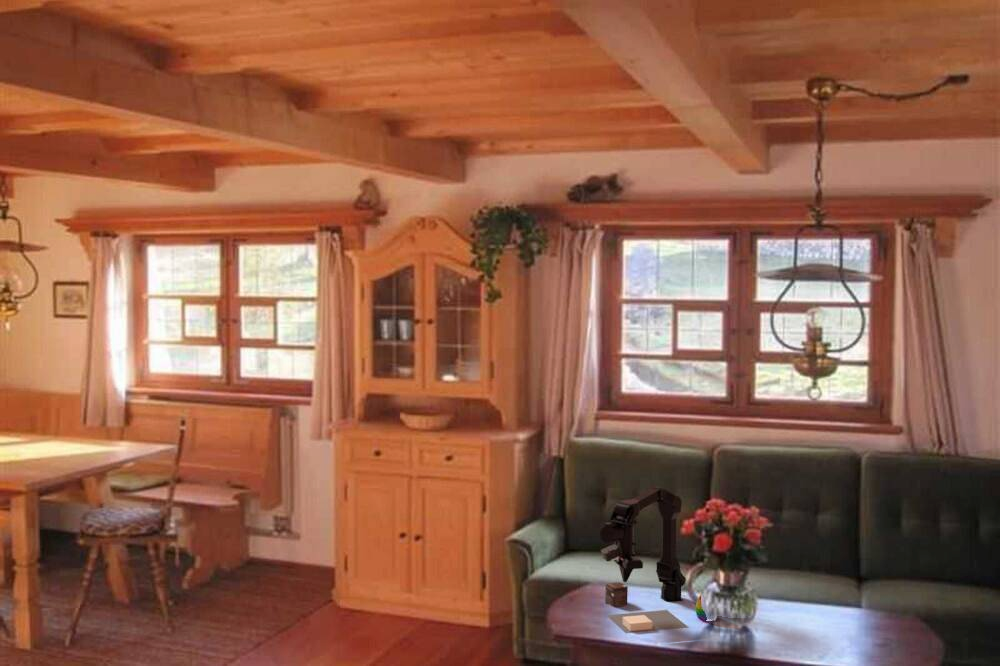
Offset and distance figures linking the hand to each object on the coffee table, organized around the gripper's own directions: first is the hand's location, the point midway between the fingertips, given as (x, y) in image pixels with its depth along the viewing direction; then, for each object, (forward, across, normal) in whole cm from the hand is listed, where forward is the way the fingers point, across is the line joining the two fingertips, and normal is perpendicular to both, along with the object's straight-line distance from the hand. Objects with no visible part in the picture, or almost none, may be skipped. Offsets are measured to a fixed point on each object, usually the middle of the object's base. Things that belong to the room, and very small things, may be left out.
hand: (624, 581), depth 339 cm
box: (+13, -13, +2) cm, 18 cm away
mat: (+12, +7, +6) cm, 15 cm away
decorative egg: (+13, +10, +27) cm, 31 cm away
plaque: (+11, +8, 0) cm, 13 cm away
